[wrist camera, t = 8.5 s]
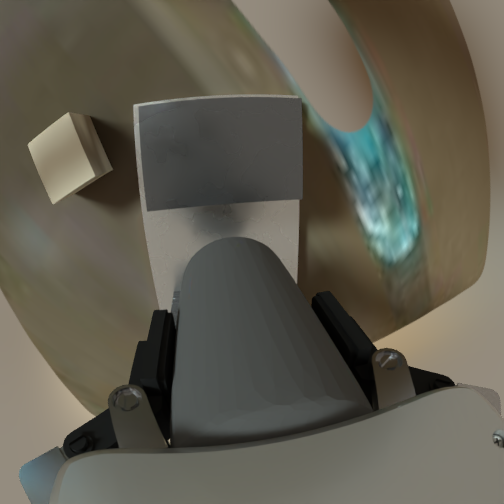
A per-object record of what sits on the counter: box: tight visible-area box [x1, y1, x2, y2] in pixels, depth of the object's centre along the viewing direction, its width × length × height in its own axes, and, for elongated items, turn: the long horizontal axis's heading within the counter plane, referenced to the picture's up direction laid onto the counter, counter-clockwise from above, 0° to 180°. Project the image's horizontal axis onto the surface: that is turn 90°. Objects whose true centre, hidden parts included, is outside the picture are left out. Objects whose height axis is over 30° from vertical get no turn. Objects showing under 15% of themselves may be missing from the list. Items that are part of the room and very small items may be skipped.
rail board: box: [133, 95, 303, 326], centre depth 20 cm, size 22×12×6 cm, turn 2°
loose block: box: [28, 112, 113, 204], centre depth 16 cm, size 5×4×4 cm
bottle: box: [170, 237, 373, 448], centre depth 9 cm, size 6×6×15 cm
